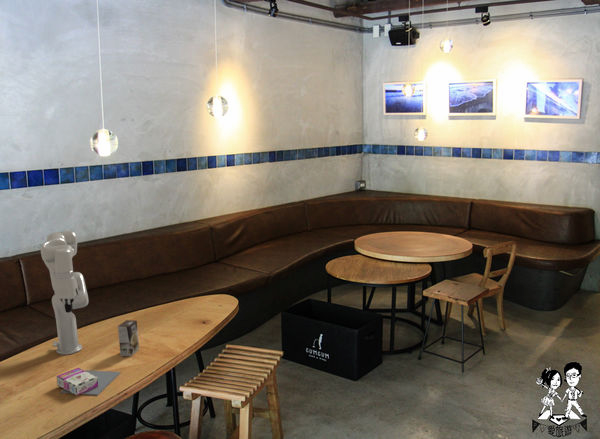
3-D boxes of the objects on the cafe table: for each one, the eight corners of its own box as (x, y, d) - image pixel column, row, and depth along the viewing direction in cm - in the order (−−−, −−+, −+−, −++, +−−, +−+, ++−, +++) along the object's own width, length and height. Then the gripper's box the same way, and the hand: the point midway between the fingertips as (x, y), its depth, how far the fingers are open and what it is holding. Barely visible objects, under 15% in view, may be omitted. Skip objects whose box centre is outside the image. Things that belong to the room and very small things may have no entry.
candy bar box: (57, 386, 270) (76, 396, 259) (55, 375, 269) (74, 385, 258) (79, 377, 278) (98, 386, 268) (78, 367, 277) (97, 376, 267)
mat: (60, 393, 264) (60, 392, 264) (85, 371, 285) (85, 370, 285) (97, 395, 261) (97, 394, 261) (120, 373, 282) (120, 371, 282)
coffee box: (131, 356, 300) (128, 326, 297) (120, 356, 302) (117, 326, 298) (139, 349, 309) (137, 320, 306) (128, 348, 310) (125, 319, 307)
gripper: (45, 276, 278) (50, 313, 281) (75, 277, 275) (79, 314, 279) (54, 272, 285) (59, 308, 288) (83, 272, 282) (87, 309, 286)
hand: (69, 311), depth 284 cm, fingers closed
